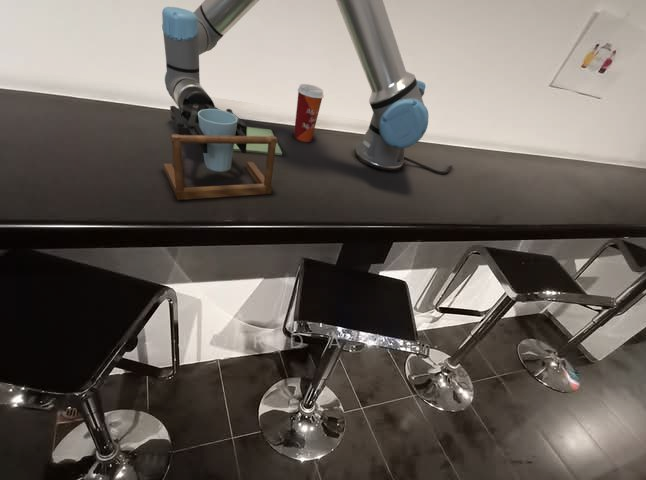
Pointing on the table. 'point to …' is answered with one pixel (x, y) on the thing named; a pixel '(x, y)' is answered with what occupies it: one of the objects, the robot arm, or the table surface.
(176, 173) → the rack
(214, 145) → the cup
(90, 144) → the table surface
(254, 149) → the mat
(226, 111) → the robot arm
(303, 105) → the paper cup
